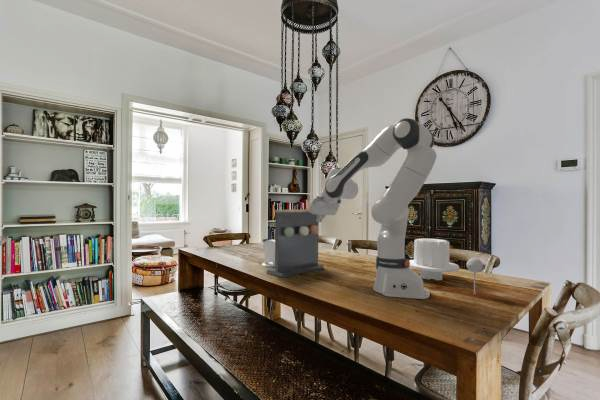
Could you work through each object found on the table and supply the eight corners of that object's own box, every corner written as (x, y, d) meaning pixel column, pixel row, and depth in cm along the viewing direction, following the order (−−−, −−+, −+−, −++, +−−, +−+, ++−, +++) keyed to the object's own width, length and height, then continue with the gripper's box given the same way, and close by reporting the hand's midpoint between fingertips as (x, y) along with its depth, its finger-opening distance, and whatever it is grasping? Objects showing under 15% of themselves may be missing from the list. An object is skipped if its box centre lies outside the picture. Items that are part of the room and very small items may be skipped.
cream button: (308, 235, 164) (308, 226, 164) (302, 235, 161) (302, 226, 161) (304, 234, 166) (304, 226, 166) (298, 235, 163) (298, 226, 163)
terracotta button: (318, 233, 172) (318, 225, 172) (313, 234, 169) (313, 225, 169) (314, 233, 174) (314, 225, 174) (309, 234, 171) (309, 225, 171)
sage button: (294, 236, 158) (294, 227, 158) (287, 237, 154) (287, 227, 154) (289, 235, 160) (290, 226, 160) (283, 236, 156) (283, 227, 156)
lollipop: (476, 297, 122) (477, 259, 122) (463, 293, 127) (463, 257, 127) (486, 295, 124) (486, 258, 125) (472, 291, 130) (472, 256, 130)
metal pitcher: (285, 264, 184) (285, 239, 184) (274, 267, 174) (274, 241, 174) (269, 262, 190) (269, 237, 190) (257, 265, 180) (258, 239, 180)
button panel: (323, 268, 174) (324, 209, 175) (283, 277, 151) (283, 210, 151) (307, 264, 182) (308, 209, 183) (267, 273, 159) (267, 209, 159)
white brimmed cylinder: (408, 270, 171) (408, 236, 171) (458, 275, 160) (458, 239, 161) (402, 280, 149) (402, 241, 149) (460, 286, 138) (460, 244, 138)
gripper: (320, 198, 147) (310, 224, 150) (343, 201, 163) (334, 224, 166) (311, 193, 151) (301, 218, 154) (334, 196, 167) (325, 219, 170)
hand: (318, 221), depth 160 cm, fingers closed
